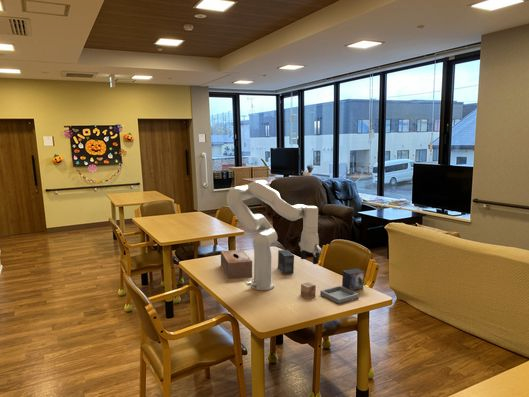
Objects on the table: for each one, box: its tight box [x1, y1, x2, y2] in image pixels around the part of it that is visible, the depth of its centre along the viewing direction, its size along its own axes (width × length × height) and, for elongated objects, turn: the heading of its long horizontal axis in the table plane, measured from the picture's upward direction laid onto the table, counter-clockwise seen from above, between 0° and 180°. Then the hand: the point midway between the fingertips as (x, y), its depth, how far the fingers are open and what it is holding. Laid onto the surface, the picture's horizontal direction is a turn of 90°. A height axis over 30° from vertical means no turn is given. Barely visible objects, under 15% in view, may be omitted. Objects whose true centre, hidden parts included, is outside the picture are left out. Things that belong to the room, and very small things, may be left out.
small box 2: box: [341, 268, 365, 292], centre depth 213 cm, size 11×6×10 cm, turn 117°
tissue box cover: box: [220, 249, 253, 280], centre depth 241 cm, size 26×14×10 cm, turn 16°
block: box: [300, 281, 317, 299], centre depth 204 cm, size 6×6×6 cm
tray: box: [319, 285, 359, 305], centre depth 203 cm, size 14×14×2 cm
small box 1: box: [277, 249, 295, 275], centre depth 242 cm, size 13×7×12 cm, turn 14°
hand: (309, 261), depth 202 cm, fingers open, 9 cm apart
